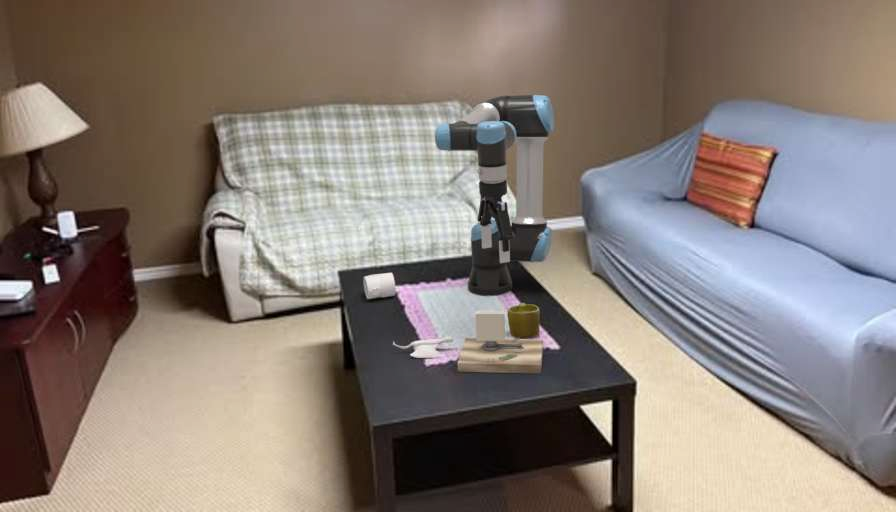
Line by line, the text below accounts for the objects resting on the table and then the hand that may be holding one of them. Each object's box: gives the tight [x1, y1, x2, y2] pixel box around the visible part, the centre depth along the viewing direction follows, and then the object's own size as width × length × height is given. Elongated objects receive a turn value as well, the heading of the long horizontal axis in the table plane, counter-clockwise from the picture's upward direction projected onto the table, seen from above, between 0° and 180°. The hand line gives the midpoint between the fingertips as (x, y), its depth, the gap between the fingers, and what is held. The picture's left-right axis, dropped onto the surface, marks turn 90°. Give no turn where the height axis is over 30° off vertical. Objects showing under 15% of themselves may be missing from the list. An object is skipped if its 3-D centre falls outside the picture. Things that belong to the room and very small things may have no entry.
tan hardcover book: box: [457, 337, 544, 375], centre depth 211 cm, size 16×22×3 cm
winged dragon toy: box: [390, 336, 454, 359], centre depth 218 cm, size 18×10×4 cm, turn 94°
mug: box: [506, 302, 541, 339], centre depth 226 cm, size 12×10×10 cm
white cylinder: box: [363, 272, 396, 300], centre depth 261 cm, size 12×9×8 cm
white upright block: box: [475, 310, 522, 351], centre depth 211 cm, size 5×12×10 cm, turn 81°
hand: (495, 254), depth 214 cm, fingers open, 13 cm apart
